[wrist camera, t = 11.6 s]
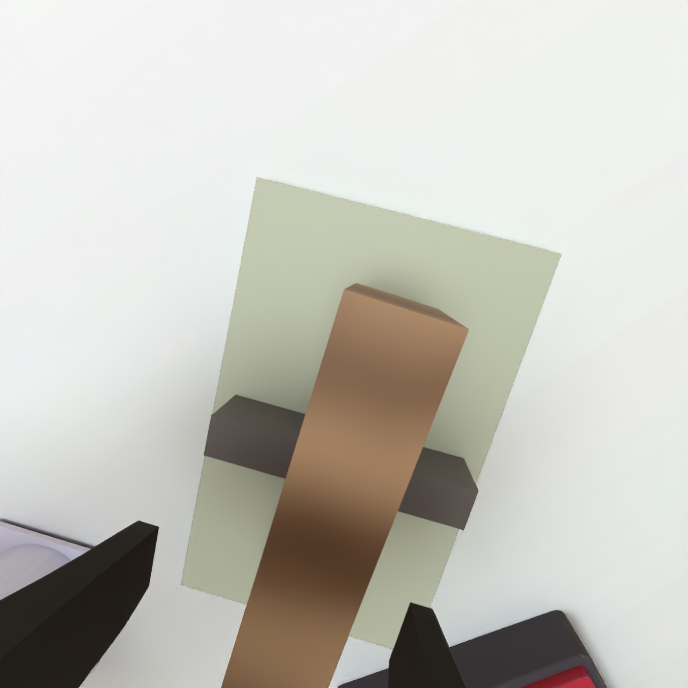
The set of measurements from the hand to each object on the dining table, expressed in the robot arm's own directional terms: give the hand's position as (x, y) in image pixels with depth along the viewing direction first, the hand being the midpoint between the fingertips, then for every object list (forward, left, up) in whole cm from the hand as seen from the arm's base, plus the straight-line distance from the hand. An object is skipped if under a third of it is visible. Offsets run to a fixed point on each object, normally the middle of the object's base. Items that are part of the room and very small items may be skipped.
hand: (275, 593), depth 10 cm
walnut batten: (0, -1, -6) cm, 6 cm away
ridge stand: (0, -1, -10) cm, 10 cm away
